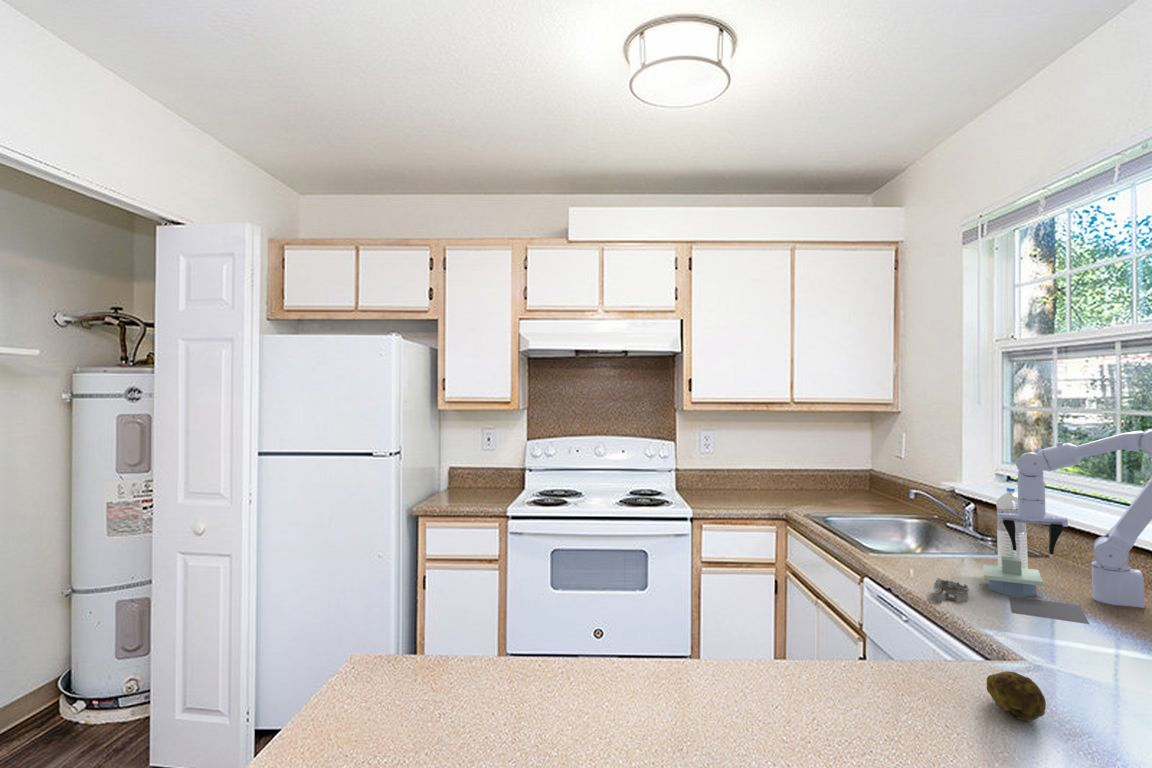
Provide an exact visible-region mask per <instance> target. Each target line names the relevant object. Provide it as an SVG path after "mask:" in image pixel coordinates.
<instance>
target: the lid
mask: <svg viewBox="0 0 1152 768" xmlns="http://www.w3.org/2000/svg"><path fill="white" fill-rule="evenodd" d="M1001 560H1002V566H998V564H987V563H983V564H982V567H983V569H982V570H983V579H984V580H988V581H989V580H997V581H1005V582H1013V583H1022V584H1030V585H1036V586H1040V587H1043V586H1044V580H1043V579H1042V576H1041V573H1040V571H1039V569H1034V568H1028V569H1025V568H1021V559H1020V558H1015V557H1005V556H1001Z"/></svg>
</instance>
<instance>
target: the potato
mask: <svg viewBox="0 0 1152 768" xmlns="http://www.w3.org/2000/svg"><path fill="white" fill-rule="evenodd" d="M986 690H987V692H988V694H989V695H990V696H991V698H992V700H993V701H994V703H996V705H997V706H998V707H999V708H1000V709H1002V710H1003V711H1004V712H1005V713H1006V715H1008V716H1009V717H1010V718H1013V719H1014V718H1015V719H1018V718H1019V719H1018V720H1021V721H1023V722H1032V721H1035V720H1037V719H1039V718H1040V717H1043V716H1044V715H1045V711H1046V708H1047V707H1046V706H1047V702H1046V701H1047V700H1046V698H1045V696H1044V694H1043V692H1042V690H1041V688H1040V687H1039V686H1038V684H1037V683H1035V682H1034V681H1033V679H1031V678H1030V677H1028V676H1024V675H1022V674H1019V673H1018V672H1014V671H1006V670H1005V671H1001V672H997V673H992V674H990V675H988V676H987V677H986Z"/></svg>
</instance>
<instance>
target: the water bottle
mask: <svg viewBox="0 0 1152 768" xmlns="http://www.w3.org/2000/svg"><path fill="white" fill-rule="evenodd" d="M1005 489H1006V493H1004V494H1002V495H1001V496H1000V497H999V498H998V499H997V500H996V503H995V505H996V506H995V507H996V515H997V516H996V521H997V526H996V527H997V529H996V536H997V537H996V538H997V540H996V542H997V544H996V545H997V565H998V566H1002V560H1001V556H1005V557H1015V558H1020V559H1021V568H1025V569H1029V567H1028V558H1029V557H1028V536H1027V535H1028V532H1027V523H1020V522H1014V523H1015V540H1016V551H1015V550H1013V547H1012V542H1011V539H1010V536H1009V534H1008V532H1007V530H1006V528H1005V526H1004V524H1003V522H1002V521H998V513H1015V514H1018V494H1016V493H1015V491H1016V490H1015V489H1016V488H1015V487H1010V486H1009V487H1006V488H1005ZM1024 521H1027V520H1024Z"/></svg>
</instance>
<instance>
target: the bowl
mask: <svg viewBox="0 0 1152 768" xmlns="http://www.w3.org/2000/svg"><path fill="white" fill-rule="evenodd" d="M988 589H989V591H990V590H991V591H993V592H996V593H998V594H999V593H1000V594H1001V595H1007V596H1014V597H1022V598H1026V597H1033V596H1037V585H1030V584H1022V583H1013V582H1005V581H997V580H988Z"/></svg>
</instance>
